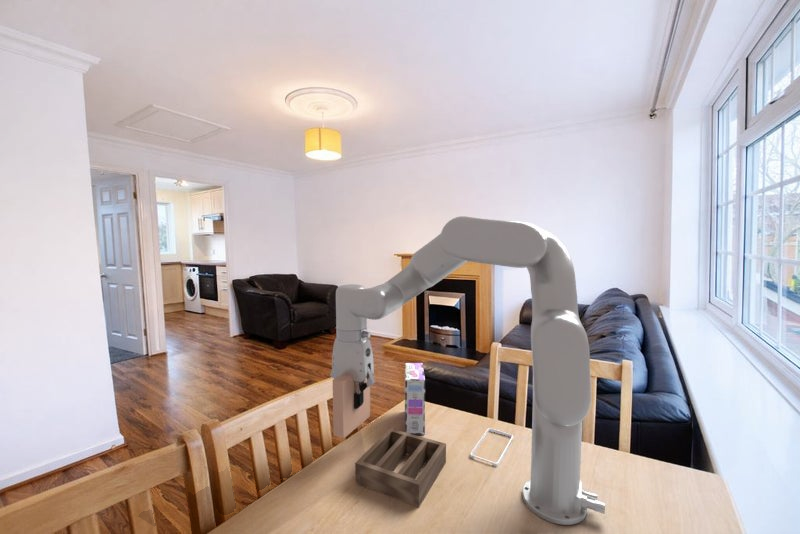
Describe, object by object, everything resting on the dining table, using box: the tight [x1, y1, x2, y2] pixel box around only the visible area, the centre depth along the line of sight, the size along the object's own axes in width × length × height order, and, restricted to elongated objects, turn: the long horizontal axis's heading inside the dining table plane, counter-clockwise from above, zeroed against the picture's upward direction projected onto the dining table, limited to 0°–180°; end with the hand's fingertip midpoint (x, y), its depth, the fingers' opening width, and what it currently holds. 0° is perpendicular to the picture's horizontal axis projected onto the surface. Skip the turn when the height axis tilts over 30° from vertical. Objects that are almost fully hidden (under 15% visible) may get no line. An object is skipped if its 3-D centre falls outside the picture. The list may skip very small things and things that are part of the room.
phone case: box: [470, 427, 514, 467], centre depth 96 cm, size 7×1×15 cm
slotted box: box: [354, 427, 447, 508], centre depth 85 cm, size 16×16×5 cm
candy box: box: [404, 362, 426, 436], centre depth 108 cm, size 14×6×16 cm, turn 179°
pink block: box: [332, 374, 371, 439], centre depth 91 cm, size 3×12×14 cm, turn 153°
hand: (352, 404), depth 91 cm, fingers closed on pink block, 3 cm apart
